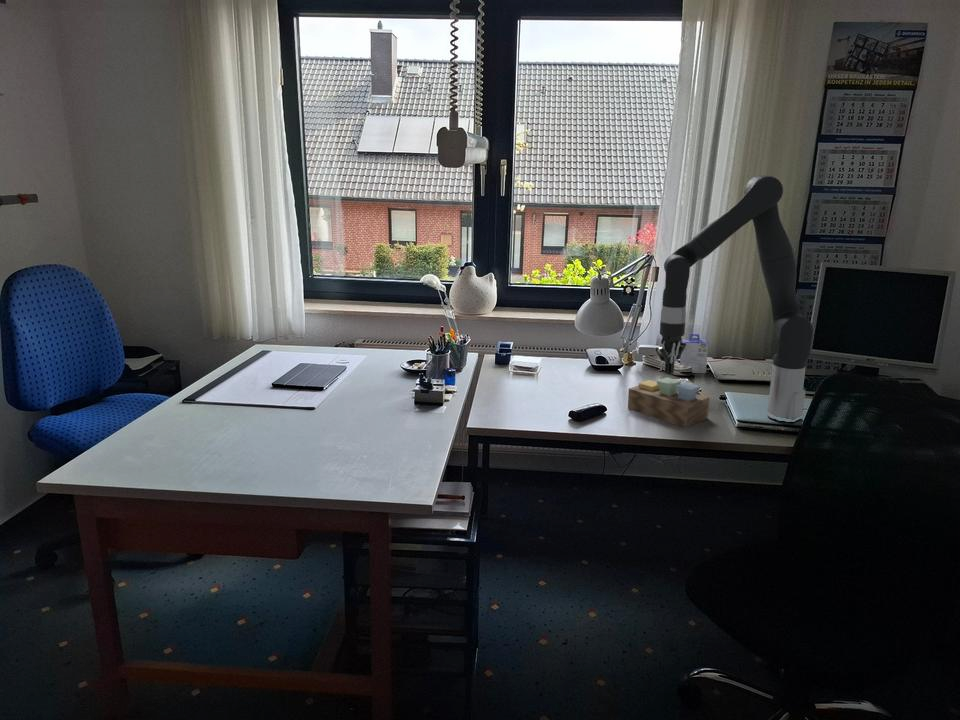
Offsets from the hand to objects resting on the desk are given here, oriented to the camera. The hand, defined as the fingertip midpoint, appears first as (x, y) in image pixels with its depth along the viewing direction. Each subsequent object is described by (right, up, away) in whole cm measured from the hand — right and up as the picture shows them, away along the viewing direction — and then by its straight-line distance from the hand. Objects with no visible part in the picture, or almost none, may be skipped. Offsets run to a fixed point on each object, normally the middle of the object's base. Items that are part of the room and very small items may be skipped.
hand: (669, 373), depth 209 cm
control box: (0, -13, +4) cm, 14 cm away
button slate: (+5, -11, -3) cm, 12 cm away
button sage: (0, -9, +3) cm, 10 cm away
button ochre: (-4, -10, +9) cm, 14 cm away
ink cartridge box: (+23, 0, +48) cm, 53 cm away
